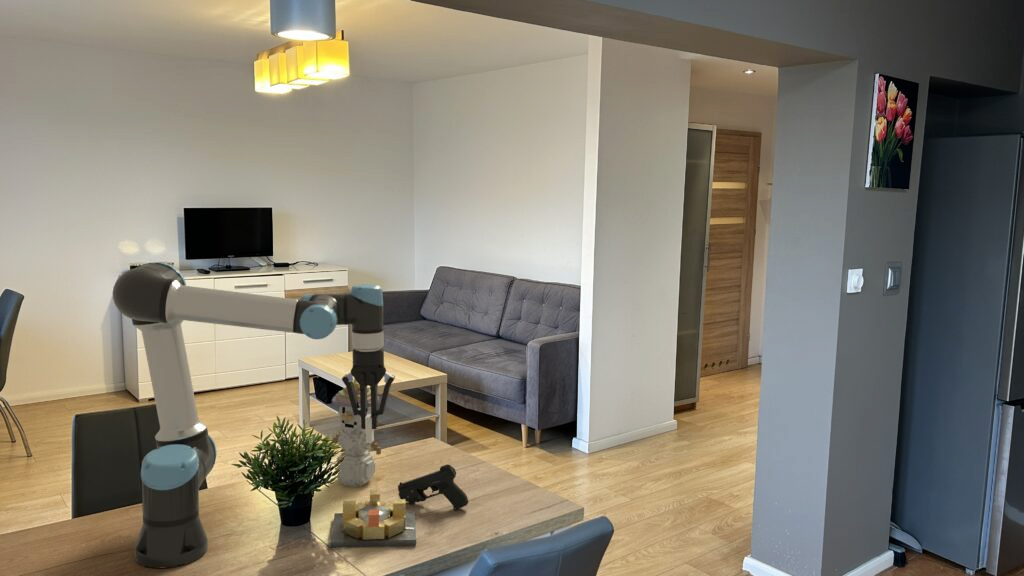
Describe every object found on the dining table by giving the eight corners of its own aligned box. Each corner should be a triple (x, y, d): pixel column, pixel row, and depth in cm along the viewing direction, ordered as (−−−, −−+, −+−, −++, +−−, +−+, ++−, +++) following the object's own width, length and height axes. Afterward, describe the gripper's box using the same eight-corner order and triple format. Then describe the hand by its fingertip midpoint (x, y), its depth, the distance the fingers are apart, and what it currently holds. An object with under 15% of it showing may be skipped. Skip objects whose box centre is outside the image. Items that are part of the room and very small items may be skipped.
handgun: (468, 506, 206) (451, 464, 205) (411, 525, 210) (394, 484, 209) (470, 503, 208) (453, 461, 207) (413, 521, 212) (397, 481, 211)
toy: (318, 484, 220) (319, 380, 216) (342, 469, 232) (343, 370, 227) (368, 494, 215) (369, 387, 211) (390, 478, 226) (392, 377, 222)
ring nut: (340, 540, 184) (341, 515, 183) (344, 513, 198) (344, 490, 197) (405, 538, 186) (406, 514, 185) (404, 511, 201) (405, 489, 200)
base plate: (329, 548, 183) (329, 527, 182) (334, 518, 199) (334, 499, 198) (416, 545, 186) (416, 524, 185) (414, 516, 202) (414, 497, 201)
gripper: (397, 345, 195) (398, 436, 198) (344, 344, 195) (346, 436, 198) (392, 351, 187) (393, 446, 191) (337, 351, 187) (340, 446, 191)
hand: (369, 441), depth 194 cm, fingers closed
